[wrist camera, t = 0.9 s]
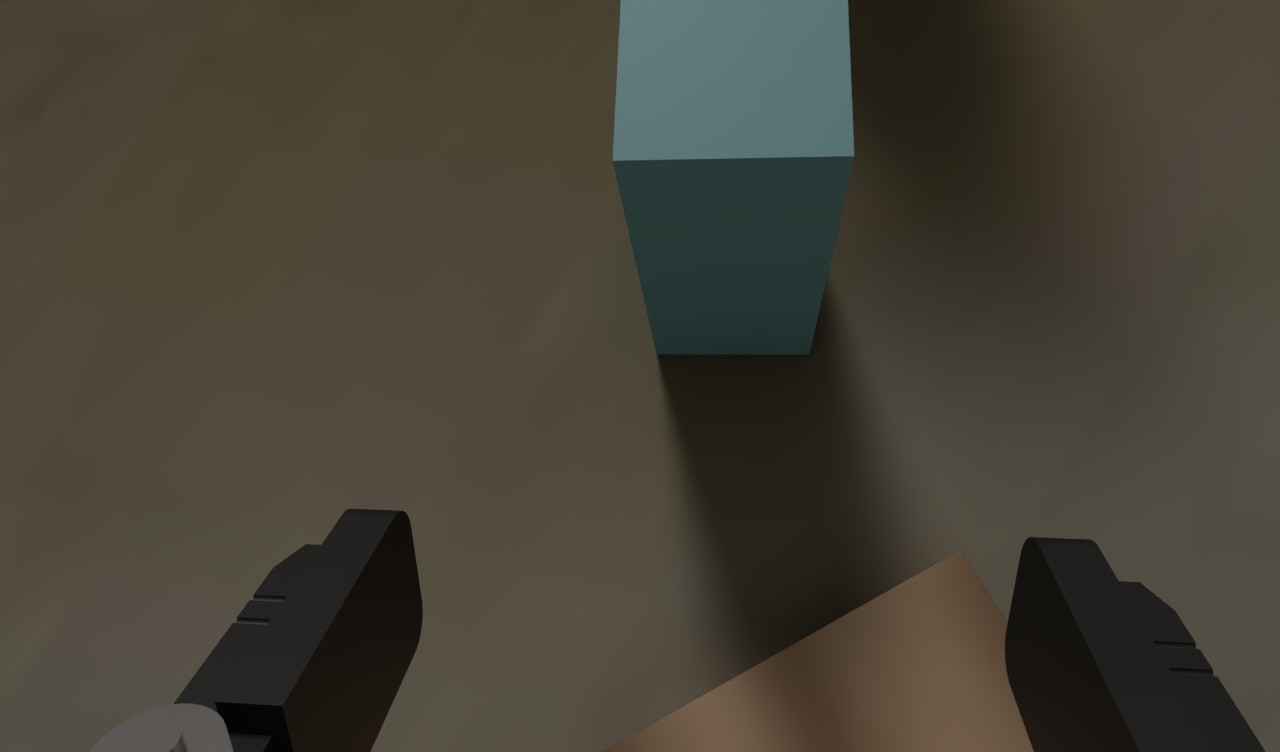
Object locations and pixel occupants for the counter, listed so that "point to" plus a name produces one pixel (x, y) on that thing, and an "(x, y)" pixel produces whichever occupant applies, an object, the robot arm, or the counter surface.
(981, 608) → the shelf
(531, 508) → the counter surface
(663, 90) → the tea box
